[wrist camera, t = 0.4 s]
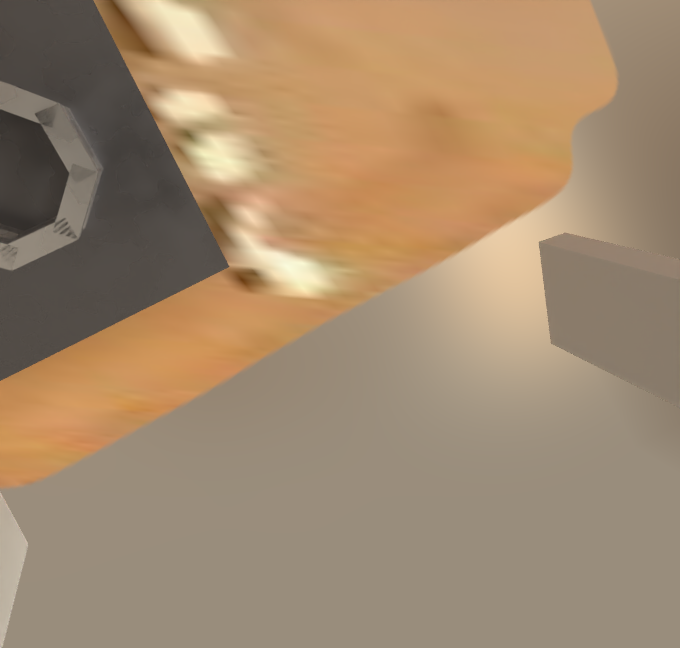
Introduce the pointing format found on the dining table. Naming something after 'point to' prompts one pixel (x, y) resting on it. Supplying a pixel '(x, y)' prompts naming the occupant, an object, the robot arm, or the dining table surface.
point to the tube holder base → (83, 187)
